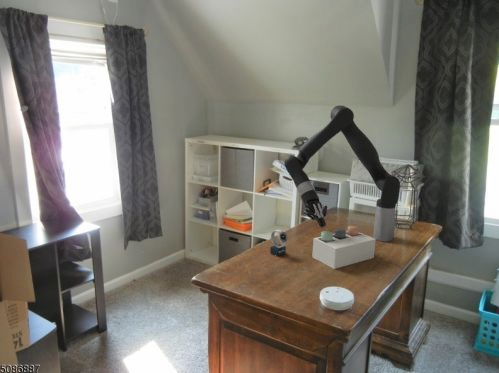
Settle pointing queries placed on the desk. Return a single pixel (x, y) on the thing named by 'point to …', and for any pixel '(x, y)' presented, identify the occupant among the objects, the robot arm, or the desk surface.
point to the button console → (344, 250)
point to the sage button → (326, 236)
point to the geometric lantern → (408, 190)
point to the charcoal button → (340, 233)
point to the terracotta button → (353, 231)
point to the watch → (278, 248)
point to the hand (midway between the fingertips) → (323, 226)
